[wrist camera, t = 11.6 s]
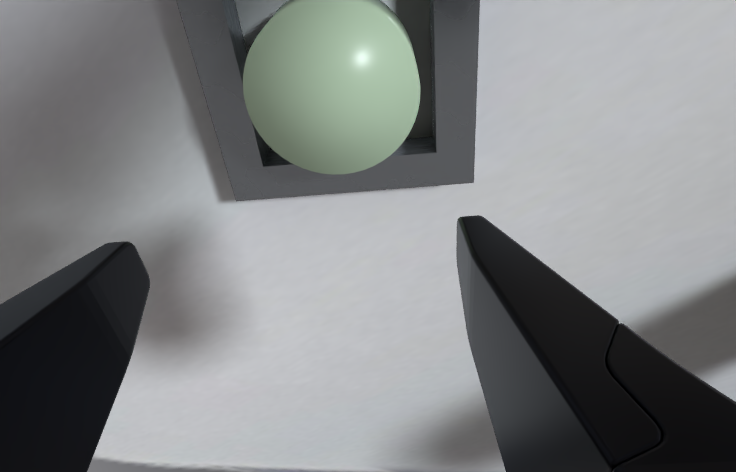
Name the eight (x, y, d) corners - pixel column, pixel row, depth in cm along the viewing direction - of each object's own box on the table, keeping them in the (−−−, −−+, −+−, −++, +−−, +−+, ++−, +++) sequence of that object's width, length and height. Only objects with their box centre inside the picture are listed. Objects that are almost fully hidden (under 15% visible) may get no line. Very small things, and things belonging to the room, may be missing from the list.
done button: (411, -24, 16) (416, -11, 14) (418, 137, 19) (423, 167, 17) (241, -6, 16) (221, 10, 14) (276, 149, 19) (264, 180, 17)
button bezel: (475, -116, 15) (483, -116, 14) (468, 165, 21) (473, 182, 20) (170, -80, 16) (153, -77, 15) (244, 183, 22) (236, 200, 21)
